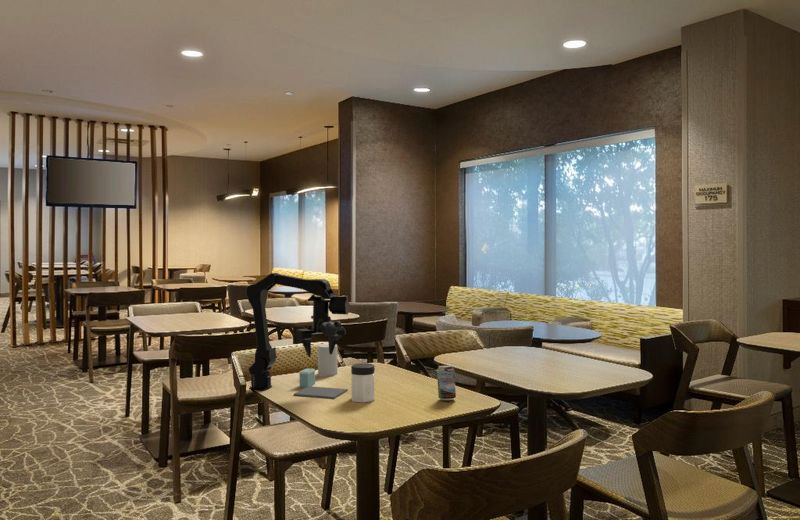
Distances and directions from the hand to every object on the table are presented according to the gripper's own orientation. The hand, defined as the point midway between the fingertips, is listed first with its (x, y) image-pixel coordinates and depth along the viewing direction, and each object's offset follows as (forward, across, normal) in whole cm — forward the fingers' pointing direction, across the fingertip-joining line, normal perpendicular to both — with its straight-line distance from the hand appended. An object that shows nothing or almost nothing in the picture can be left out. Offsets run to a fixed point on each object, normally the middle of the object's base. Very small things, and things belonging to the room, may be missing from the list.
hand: (320, 355), depth 224 cm
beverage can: (+12, +27, -39) cm, 50 cm away
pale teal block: (+13, +1, +10) cm, 17 cm away
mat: (+13, -1, -3) cm, 14 cm away
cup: (+14, +18, +22) cm, 32 cm away
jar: (+13, +5, -20) cm, 25 cm away
